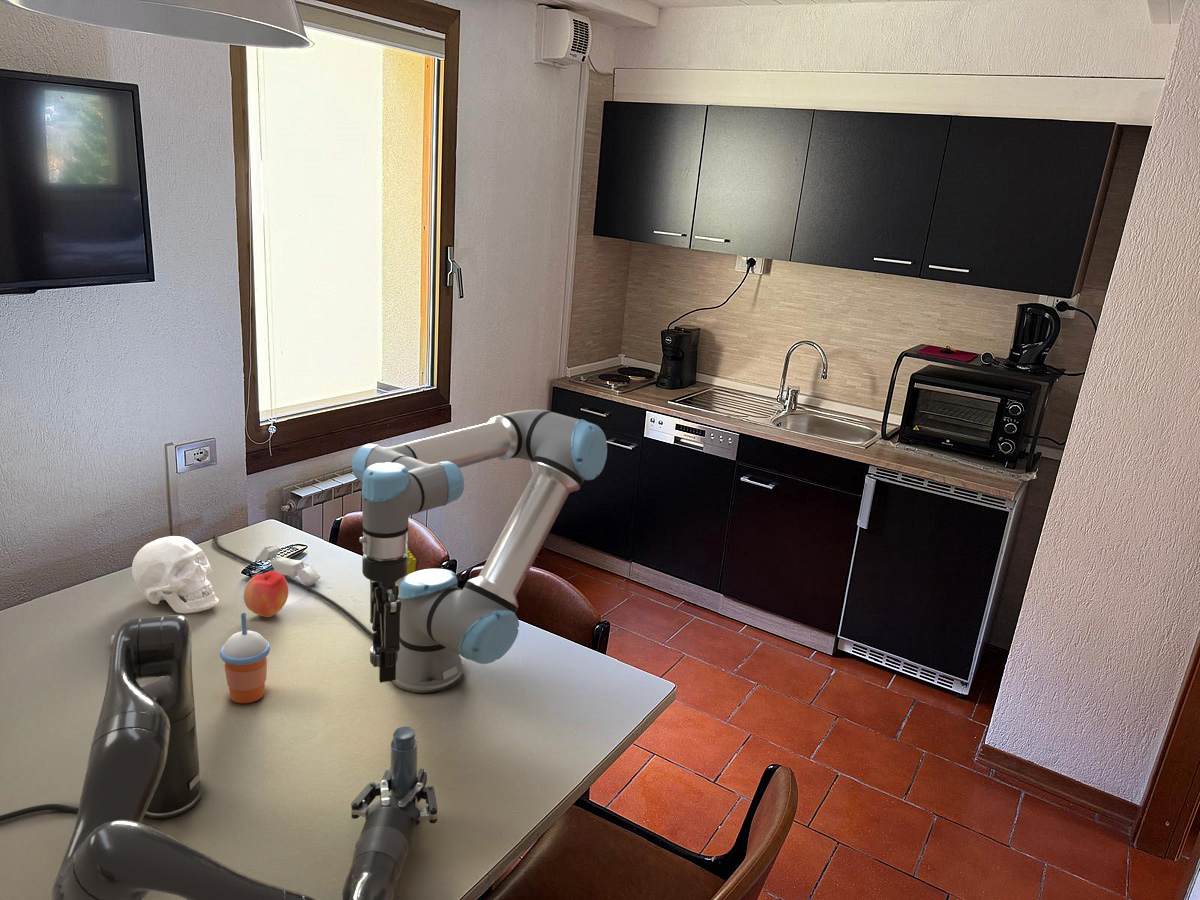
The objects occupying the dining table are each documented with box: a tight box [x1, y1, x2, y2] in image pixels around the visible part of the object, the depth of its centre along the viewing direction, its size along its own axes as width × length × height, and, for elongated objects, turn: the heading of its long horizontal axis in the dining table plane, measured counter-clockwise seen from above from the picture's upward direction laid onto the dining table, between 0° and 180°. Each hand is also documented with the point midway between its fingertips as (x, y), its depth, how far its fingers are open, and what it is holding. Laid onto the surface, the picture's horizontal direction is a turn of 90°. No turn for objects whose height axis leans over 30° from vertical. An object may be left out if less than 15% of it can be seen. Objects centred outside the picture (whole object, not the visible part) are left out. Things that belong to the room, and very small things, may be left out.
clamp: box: [254, 544, 322, 587], centre depth 219 cm, size 20×4×7 cm, turn 62°
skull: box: [131, 535, 220, 615], centre depth 201 cm, size 13×22×16 cm, turn 73°
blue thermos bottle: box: [389, 726, 418, 797], centre depth 140 cm, size 4×4×16 cm
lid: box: [369, 643, 398, 668], centre depth 152 cm, size 5×5×2 cm
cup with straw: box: [219, 612, 271, 704], centre depth 167 cm, size 9×9×18 cm
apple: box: [243, 571, 289, 618], centre depth 199 cm, size 10×10×10 cm
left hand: (407, 772), depth 143 cm, fingers closed on blue thermos bottle, 4 cm apart
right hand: (384, 672), depth 153 cm, fingers closed on lid, 5 cm apart
